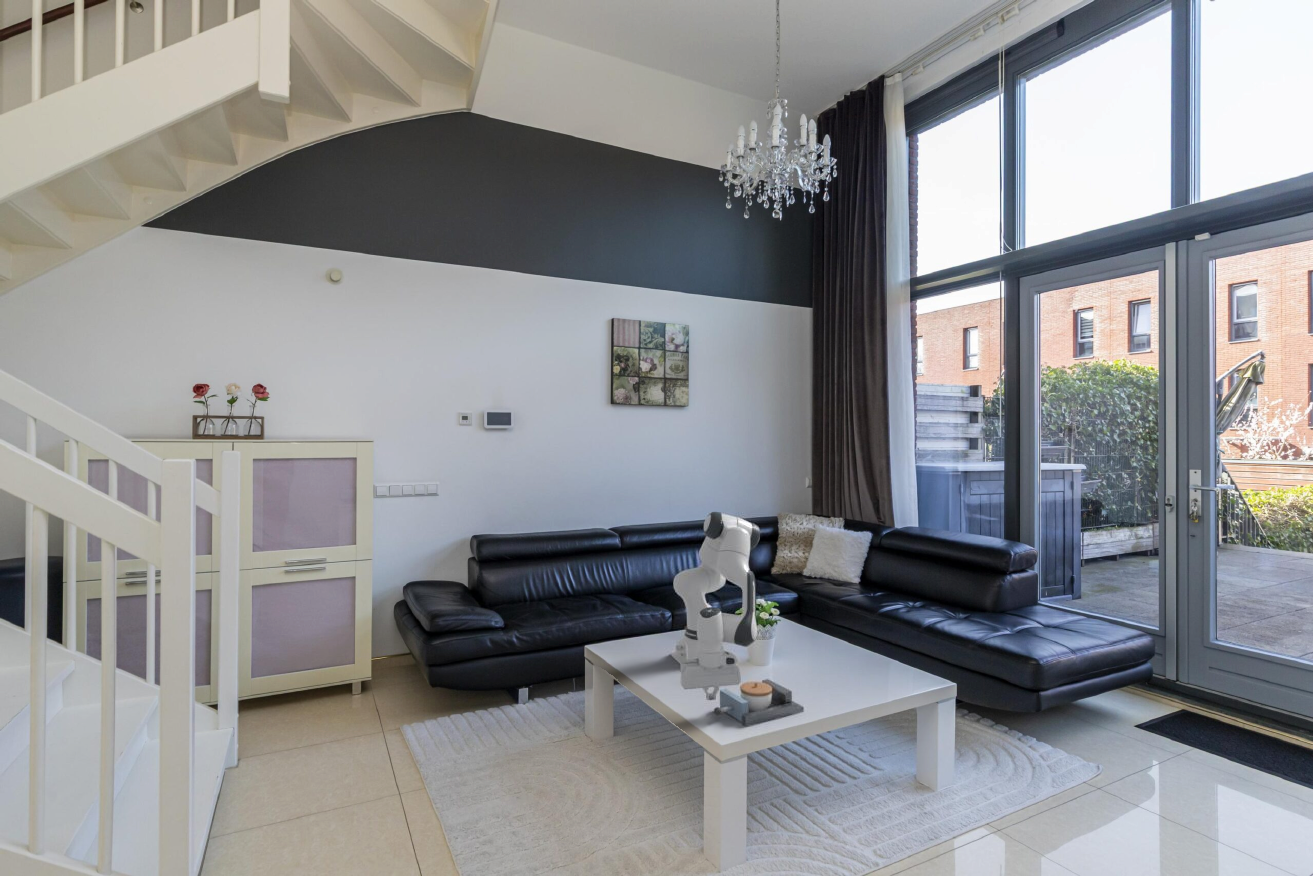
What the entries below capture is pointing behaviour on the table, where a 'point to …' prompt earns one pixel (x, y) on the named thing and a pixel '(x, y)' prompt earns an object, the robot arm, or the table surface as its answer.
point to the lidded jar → (756, 695)
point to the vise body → (782, 703)
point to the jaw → (732, 705)
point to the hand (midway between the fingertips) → (711, 699)
